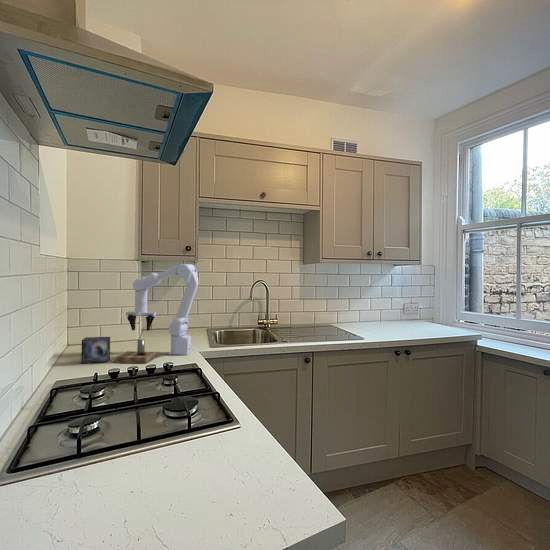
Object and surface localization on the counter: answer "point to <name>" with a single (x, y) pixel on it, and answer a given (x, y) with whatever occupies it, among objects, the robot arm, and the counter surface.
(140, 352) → the peg
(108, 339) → the small box
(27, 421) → the counter surface
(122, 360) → the hole block
